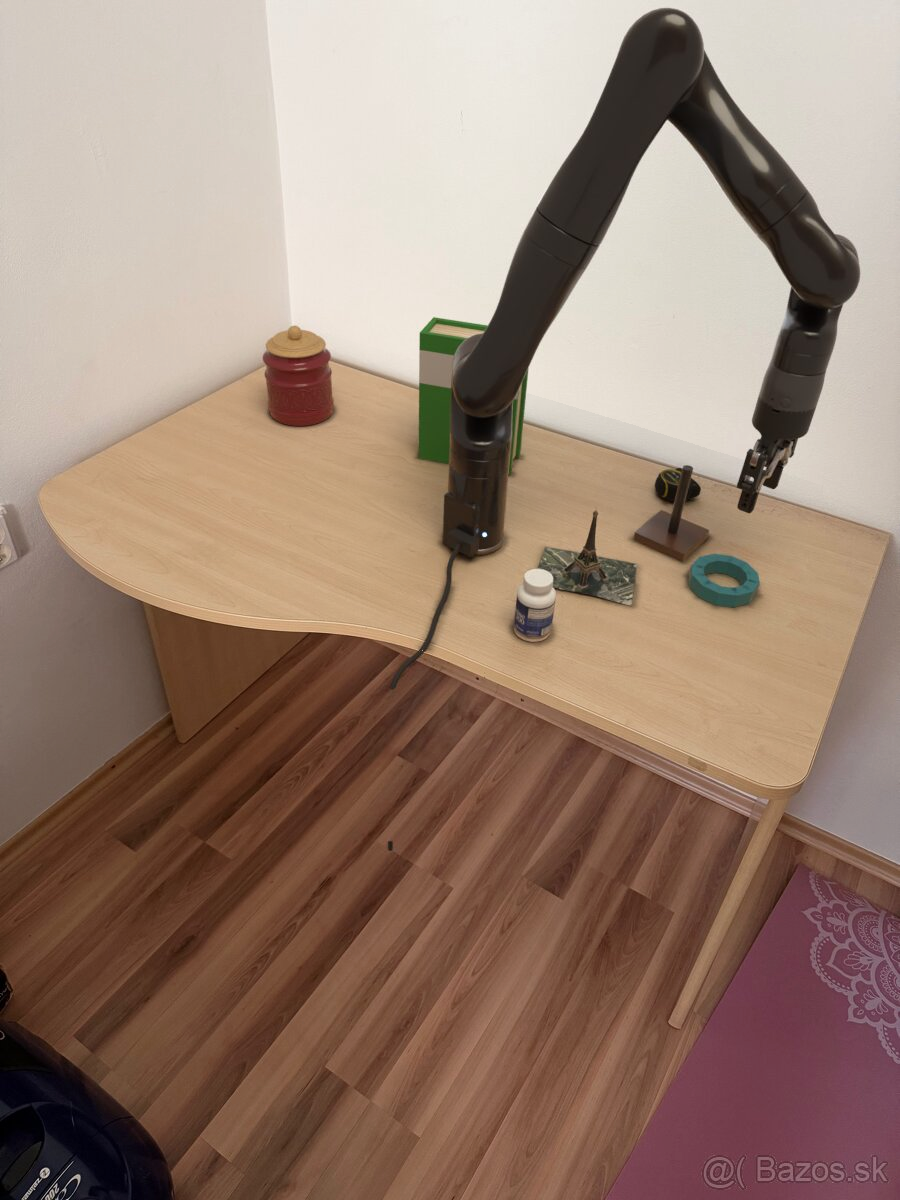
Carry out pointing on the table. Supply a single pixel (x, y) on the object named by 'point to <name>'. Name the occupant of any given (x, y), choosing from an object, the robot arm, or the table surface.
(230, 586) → the table surface
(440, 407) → the hardback book
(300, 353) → the kitchen canister
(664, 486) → the tape measure
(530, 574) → the pill bottle
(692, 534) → the stand
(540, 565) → the eiffel tower figurine
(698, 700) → the table surface
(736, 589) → the ring
